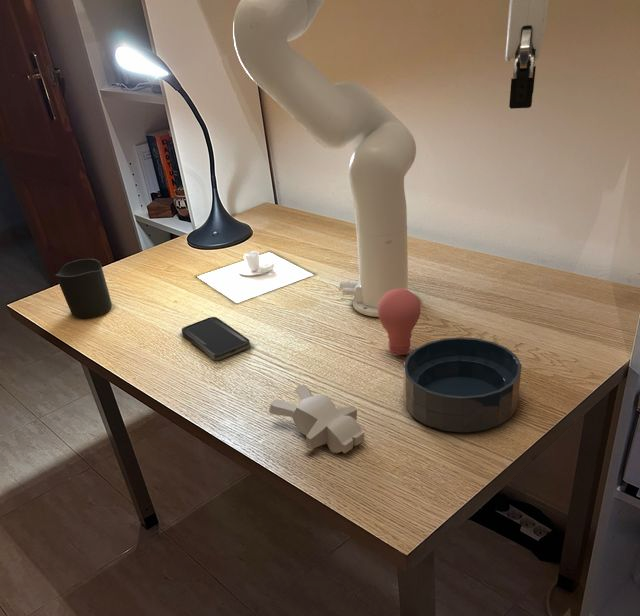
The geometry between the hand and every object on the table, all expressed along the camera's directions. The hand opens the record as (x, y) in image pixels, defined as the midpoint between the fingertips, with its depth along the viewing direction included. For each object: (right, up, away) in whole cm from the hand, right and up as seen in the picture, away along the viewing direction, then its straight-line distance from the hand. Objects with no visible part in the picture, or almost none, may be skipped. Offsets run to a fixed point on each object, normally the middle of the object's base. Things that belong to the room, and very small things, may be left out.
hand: (521, 101), depth 98 cm
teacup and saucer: (-47, -16, +47) cm, 68 cm away
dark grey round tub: (-10, -47, -1) cm, 48 cm away
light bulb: (-17, -38, +13) cm, 44 cm away
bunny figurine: (-31, -52, -3) cm, 61 cm away
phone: (-52, -34, +23) cm, 66 cm away
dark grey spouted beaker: (-81, -26, +40) cm, 94 cm away
